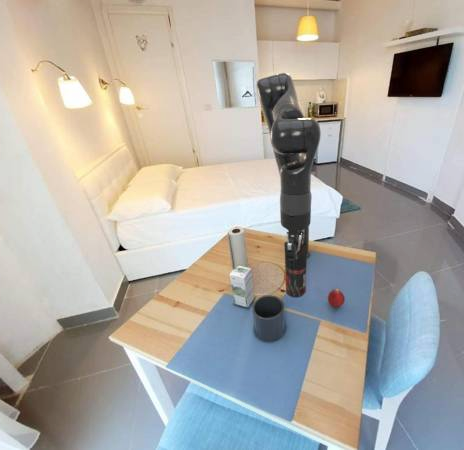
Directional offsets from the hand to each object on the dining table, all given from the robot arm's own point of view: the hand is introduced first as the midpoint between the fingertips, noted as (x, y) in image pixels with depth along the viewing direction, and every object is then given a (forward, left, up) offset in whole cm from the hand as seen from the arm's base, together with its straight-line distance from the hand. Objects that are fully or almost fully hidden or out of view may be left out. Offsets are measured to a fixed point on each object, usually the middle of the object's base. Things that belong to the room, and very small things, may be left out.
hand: (295, 261), depth 69 cm
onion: (-13, +12, -28) cm, 33 cm away
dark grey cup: (+2, -8, -27) cm, 29 cm away
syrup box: (-7, -21, -28) cm, 36 cm away
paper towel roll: (-21, -29, -28) cm, 45 cm away
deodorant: (0, 0, -11) cm, 11 cm away
